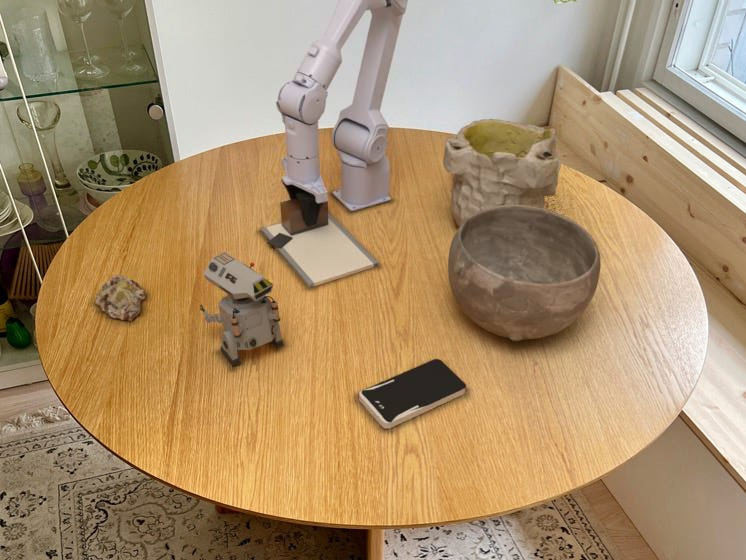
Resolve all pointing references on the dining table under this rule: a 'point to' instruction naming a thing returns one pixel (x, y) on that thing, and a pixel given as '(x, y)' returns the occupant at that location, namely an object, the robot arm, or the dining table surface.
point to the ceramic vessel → (500, 166)
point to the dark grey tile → (280, 240)
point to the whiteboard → (322, 253)
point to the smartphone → (411, 393)
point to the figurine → (243, 307)
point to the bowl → (523, 270)
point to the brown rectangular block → (300, 217)
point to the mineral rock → (121, 298)
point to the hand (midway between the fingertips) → (305, 218)
